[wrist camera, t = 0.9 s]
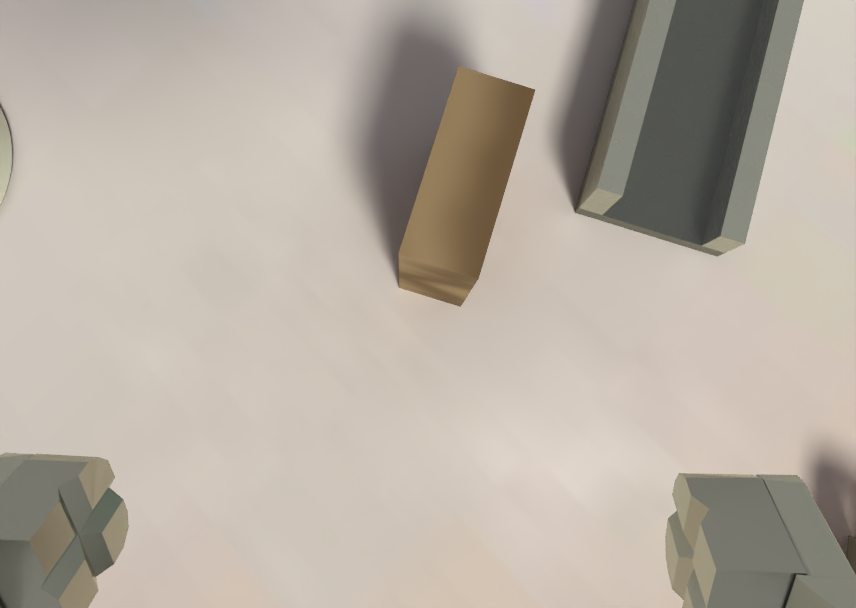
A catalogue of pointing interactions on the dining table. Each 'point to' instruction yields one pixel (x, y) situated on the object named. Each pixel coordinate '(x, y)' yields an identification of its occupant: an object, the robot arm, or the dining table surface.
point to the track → (690, 119)
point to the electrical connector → (852, 552)
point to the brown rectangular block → (463, 186)
